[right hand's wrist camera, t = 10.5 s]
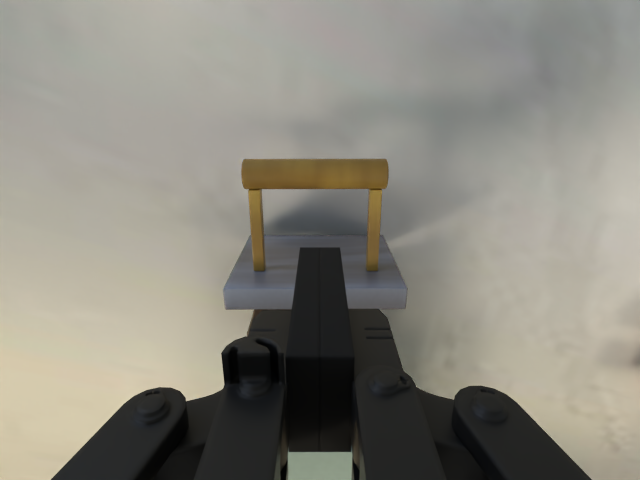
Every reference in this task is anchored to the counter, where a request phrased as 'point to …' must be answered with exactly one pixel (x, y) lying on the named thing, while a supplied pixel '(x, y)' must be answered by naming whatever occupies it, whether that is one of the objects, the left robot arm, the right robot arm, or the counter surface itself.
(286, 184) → the drawer
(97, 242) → the counter surface
